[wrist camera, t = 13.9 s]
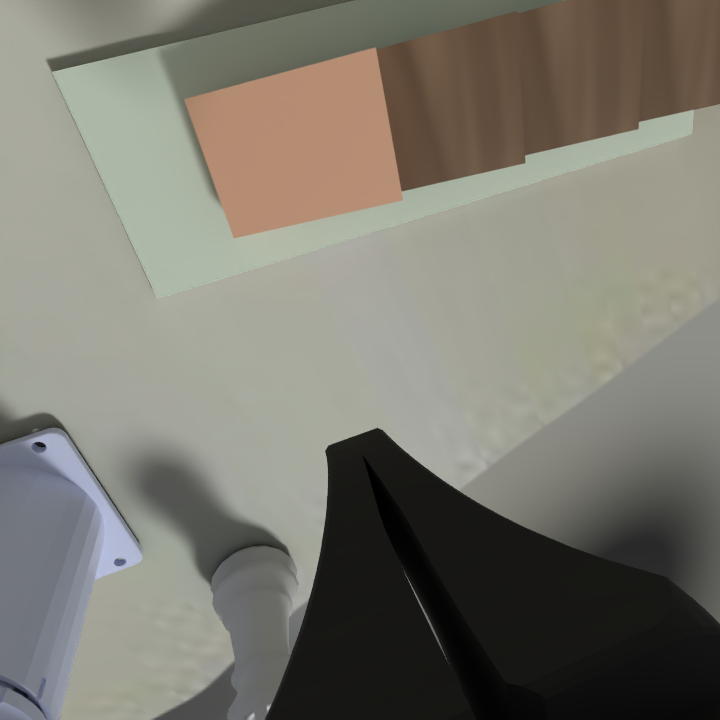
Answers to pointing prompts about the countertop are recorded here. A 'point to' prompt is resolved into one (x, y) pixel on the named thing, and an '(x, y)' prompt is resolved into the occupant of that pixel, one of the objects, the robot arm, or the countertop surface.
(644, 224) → the countertop surface
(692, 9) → the domino
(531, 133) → the domino
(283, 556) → the rook chess piece
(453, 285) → the countertop surface
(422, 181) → the domino
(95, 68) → the sage mat
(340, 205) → the terracotta domino
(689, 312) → the countertop surface
